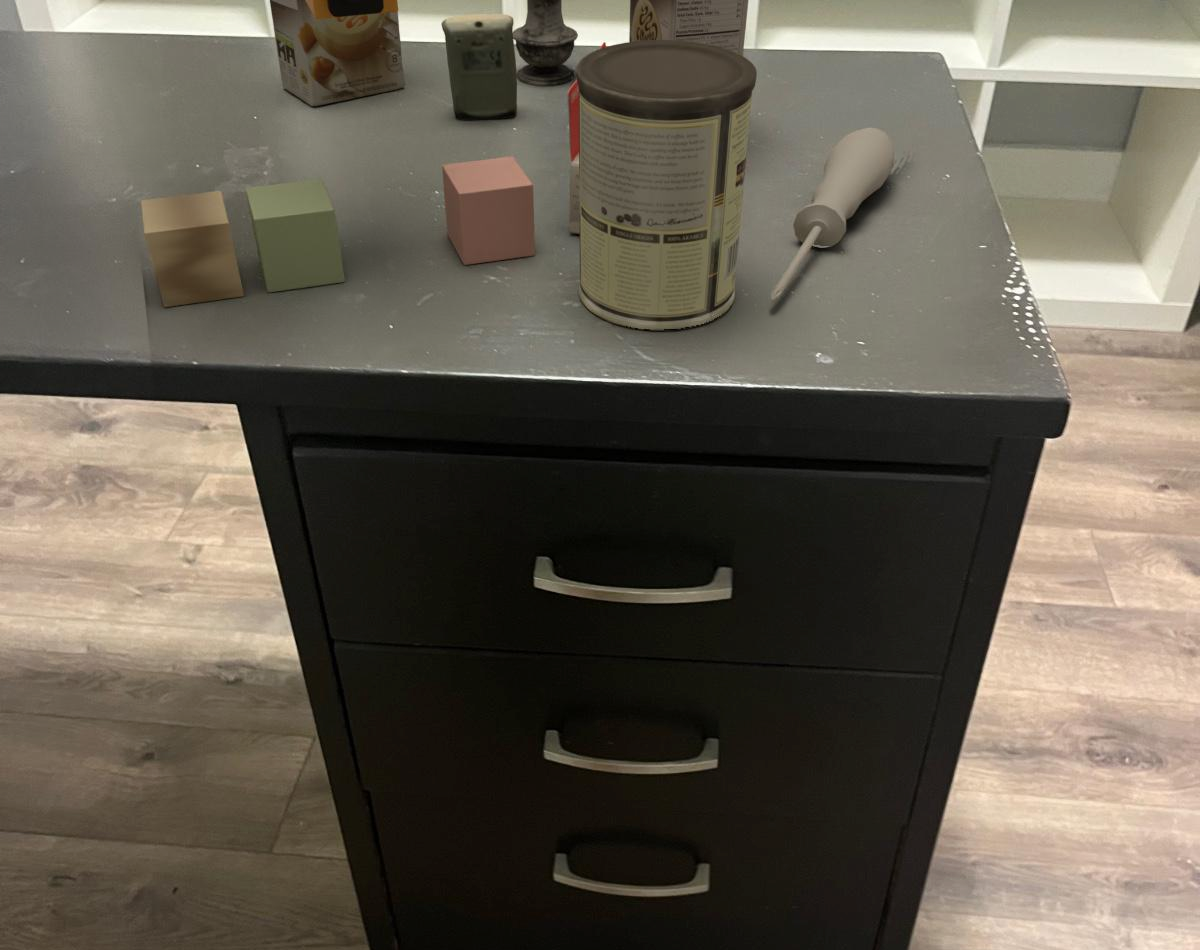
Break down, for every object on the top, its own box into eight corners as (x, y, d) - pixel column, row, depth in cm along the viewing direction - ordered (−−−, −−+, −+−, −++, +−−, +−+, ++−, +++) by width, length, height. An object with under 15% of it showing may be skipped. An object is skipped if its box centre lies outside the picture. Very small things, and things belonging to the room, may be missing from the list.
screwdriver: (741, 330, 76) (731, 269, 74) (845, 171, 92) (840, 117, 90) (812, 330, 74) (805, 268, 72) (905, 168, 90) (902, 112, 88)
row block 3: (464, 265, 79) (458, 193, 76) (447, 234, 83) (441, 164, 79) (535, 255, 80) (533, 184, 77) (515, 225, 84) (513, 155, 81)
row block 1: (163, 307, 74) (144, 232, 71) (159, 272, 78) (140, 199, 75) (244, 296, 76) (228, 222, 72) (236, 262, 79) (221, 190, 76)
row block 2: (267, 293, 76) (253, 219, 73) (259, 259, 80) (245, 187, 76) (345, 282, 77) (334, 209, 74) (333, 249, 81) (322, 178, 77)
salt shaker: (556, 91, 104) (555, -61, 96) (501, 79, 106) (494, -70, 98) (589, 72, 108) (590, -75, 100) (534, 61, 110) (531, -84, 102)
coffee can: (567, 261, 80) (566, 41, 70) (716, 253, 81) (734, 35, 72) (588, 337, 72) (589, 102, 63) (751, 327, 73) (777, 94, 64)
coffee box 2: (623, 124, 99) (628, -95, 88) (694, 116, 100) (708, -100, 89) (661, 165, 92) (672, -65, 81) (737, 156, 94) (757, -71, 83)
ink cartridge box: (634, 177, 90) (638, 42, 84) (600, 239, 82) (602, 95, 76) (602, 174, 91) (604, 39, 84) (566, 235, 83) (565, 92, 76)
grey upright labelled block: (471, 132, 97) (465, 29, 91) (436, 114, 100) (428, 12, 94) (527, 116, 100) (524, 15, 94) (491, 99, 103) (487, 0, 97)
